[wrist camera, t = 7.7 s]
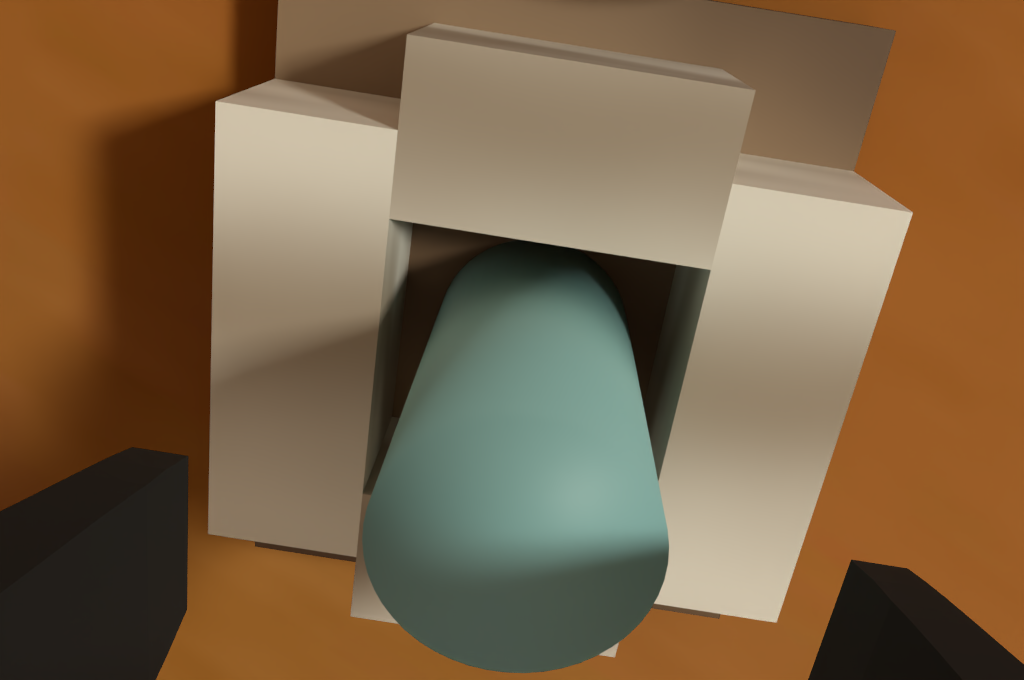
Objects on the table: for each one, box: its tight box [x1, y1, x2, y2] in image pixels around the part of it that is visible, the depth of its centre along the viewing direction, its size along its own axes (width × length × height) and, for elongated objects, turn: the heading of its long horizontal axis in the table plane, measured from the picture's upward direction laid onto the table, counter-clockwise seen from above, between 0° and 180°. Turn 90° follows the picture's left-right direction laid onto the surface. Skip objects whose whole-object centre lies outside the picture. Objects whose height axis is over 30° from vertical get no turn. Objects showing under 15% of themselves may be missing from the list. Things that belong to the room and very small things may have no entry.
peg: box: [362, 240, 669, 673], centre depth 13 cm, size 4×4×7 cm
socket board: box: [208, 0, 913, 657], centre depth 16 cm, size 12×10×4 cm
